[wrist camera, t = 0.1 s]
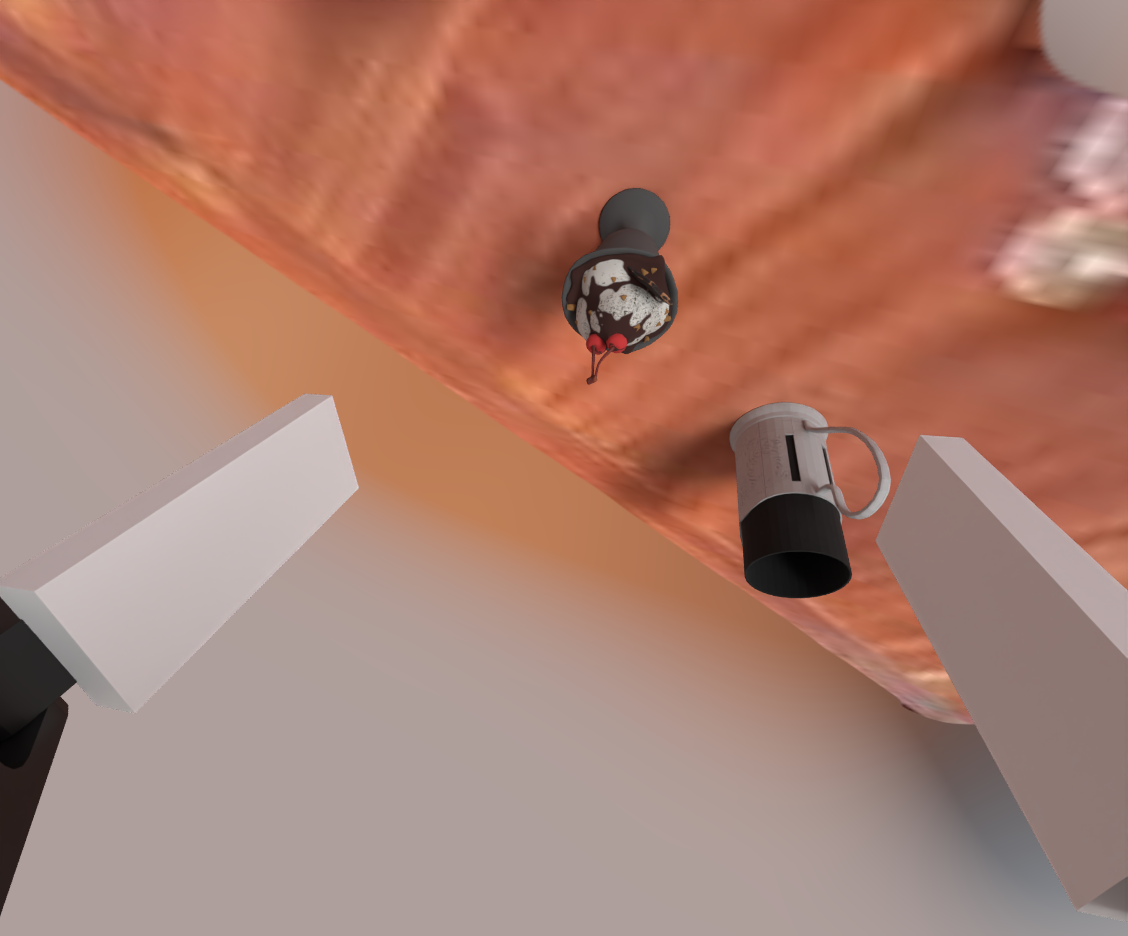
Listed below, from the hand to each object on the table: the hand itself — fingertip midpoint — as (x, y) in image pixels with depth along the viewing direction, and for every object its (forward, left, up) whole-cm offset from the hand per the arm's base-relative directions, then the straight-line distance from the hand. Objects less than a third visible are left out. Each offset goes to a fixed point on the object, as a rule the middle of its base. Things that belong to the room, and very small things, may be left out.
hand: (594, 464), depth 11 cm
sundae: (+6, +4, -28) cm, 29 cm away
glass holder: (+7, +27, -28) cm, 39 cm away
